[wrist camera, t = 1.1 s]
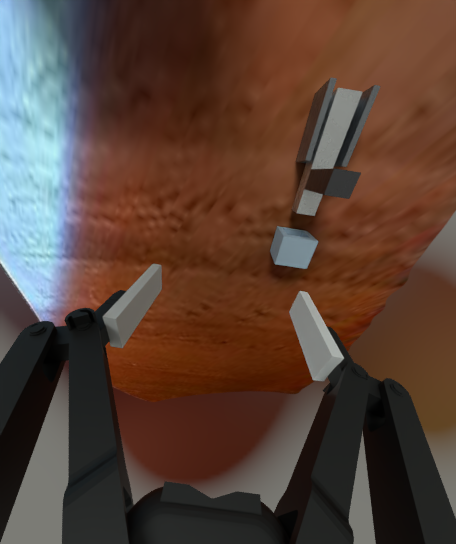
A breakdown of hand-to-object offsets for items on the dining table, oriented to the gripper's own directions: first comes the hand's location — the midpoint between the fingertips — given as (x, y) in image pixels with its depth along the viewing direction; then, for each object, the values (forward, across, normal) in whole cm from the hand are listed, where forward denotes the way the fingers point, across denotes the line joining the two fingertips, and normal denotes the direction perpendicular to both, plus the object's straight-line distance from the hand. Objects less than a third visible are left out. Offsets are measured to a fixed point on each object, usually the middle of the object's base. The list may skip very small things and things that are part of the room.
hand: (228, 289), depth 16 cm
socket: (+25, +13, -2) cm, 28 cm away
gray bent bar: (+24, +12, +13) cm, 30 cm away
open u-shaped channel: (+25, +12, +18) cm, 33 cm away
